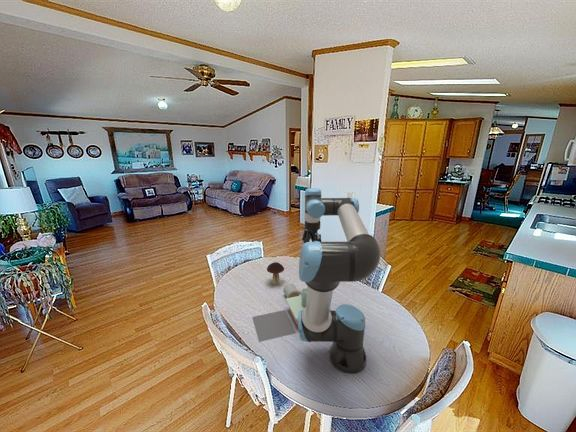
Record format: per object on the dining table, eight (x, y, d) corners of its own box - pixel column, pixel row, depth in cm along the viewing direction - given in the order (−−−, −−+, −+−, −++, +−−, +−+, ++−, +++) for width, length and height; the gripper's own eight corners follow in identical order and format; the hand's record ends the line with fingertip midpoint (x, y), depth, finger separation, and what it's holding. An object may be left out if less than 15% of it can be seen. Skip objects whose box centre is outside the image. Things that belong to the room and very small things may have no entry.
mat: (296, 333, 123) (296, 332, 123) (259, 342, 118) (259, 341, 118) (285, 310, 140) (285, 309, 139) (252, 317, 134) (252, 316, 134)
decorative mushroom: (287, 282, 166) (287, 261, 162) (278, 290, 158) (277, 268, 153) (273, 277, 172) (273, 257, 168) (263, 285, 163) (262, 264, 159)
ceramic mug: (288, 303, 145) (288, 292, 143) (283, 295, 152) (283, 284, 150) (305, 299, 149) (305, 288, 147) (299, 292, 156) (299, 281, 154)
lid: (328, 313, 128) (329, 297, 125) (296, 321, 123) (296, 304, 120) (315, 294, 143) (315, 279, 140) (285, 300, 138) (285, 285, 136)
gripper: (332, 228, 114) (330, 270, 120) (309, 212, 136) (308, 249, 143) (316, 230, 111) (315, 273, 118) (296, 214, 134) (296, 251, 140)
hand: (311, 260), depth 130 cm, fingers open, 13 cm apart
